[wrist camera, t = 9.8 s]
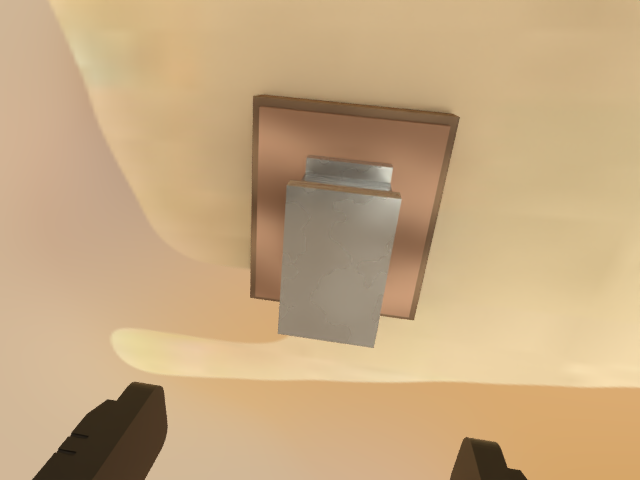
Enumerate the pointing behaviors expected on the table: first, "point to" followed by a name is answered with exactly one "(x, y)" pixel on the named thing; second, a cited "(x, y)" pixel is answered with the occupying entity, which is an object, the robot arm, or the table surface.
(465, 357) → the table surface
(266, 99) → the stand
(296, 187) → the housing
